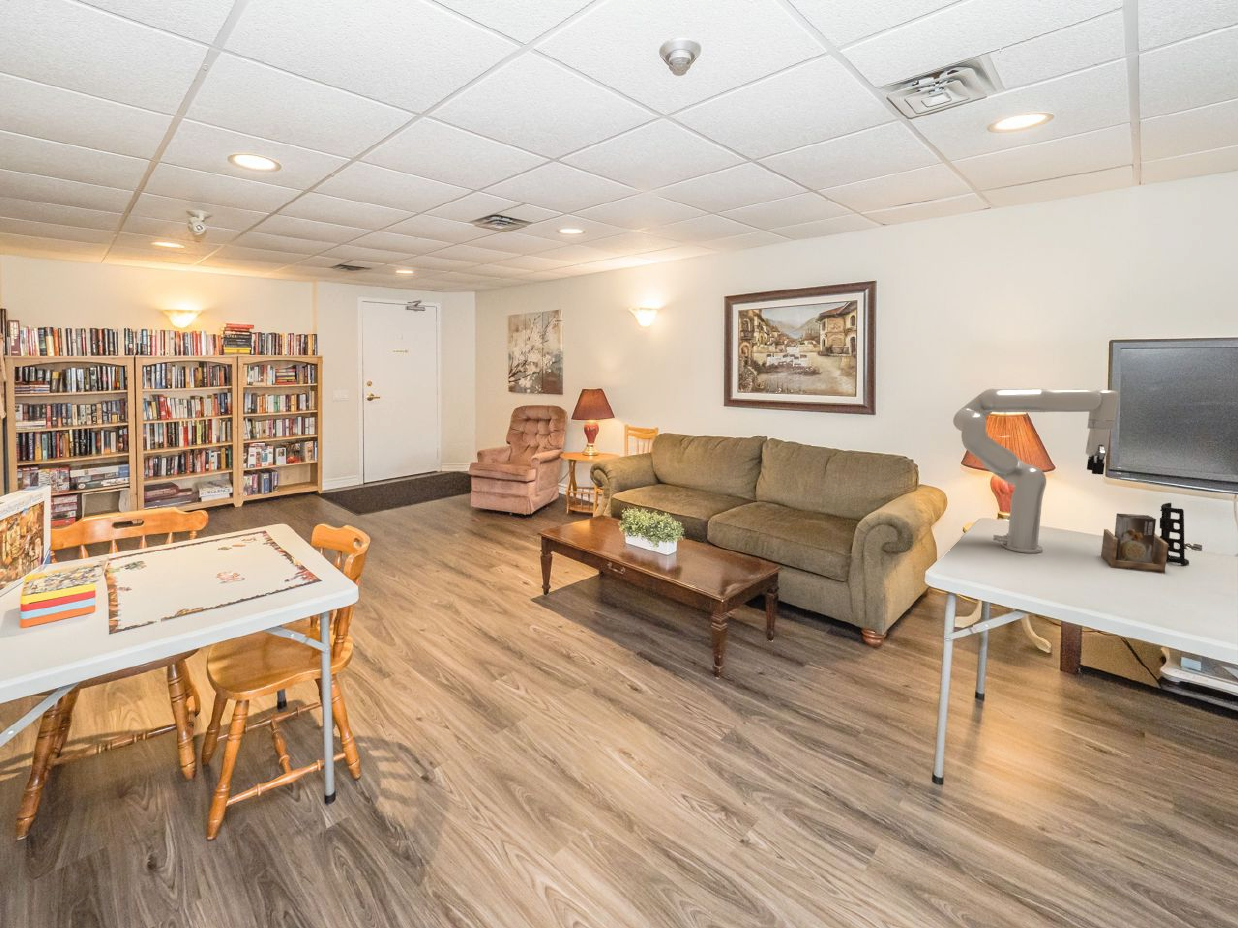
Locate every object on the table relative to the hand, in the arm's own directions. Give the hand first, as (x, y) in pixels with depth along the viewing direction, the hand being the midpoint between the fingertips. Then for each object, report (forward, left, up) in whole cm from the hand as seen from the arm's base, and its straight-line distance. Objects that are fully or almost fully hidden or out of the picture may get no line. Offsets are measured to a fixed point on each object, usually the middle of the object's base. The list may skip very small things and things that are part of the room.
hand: (1094, 472), depth 217 cm
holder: (+24, -1, -30) cm, 38 cm away
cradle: (+11, -11, -30) cm, 34 cm away
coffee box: (+10, -11, -29) cm, 33 cm away
